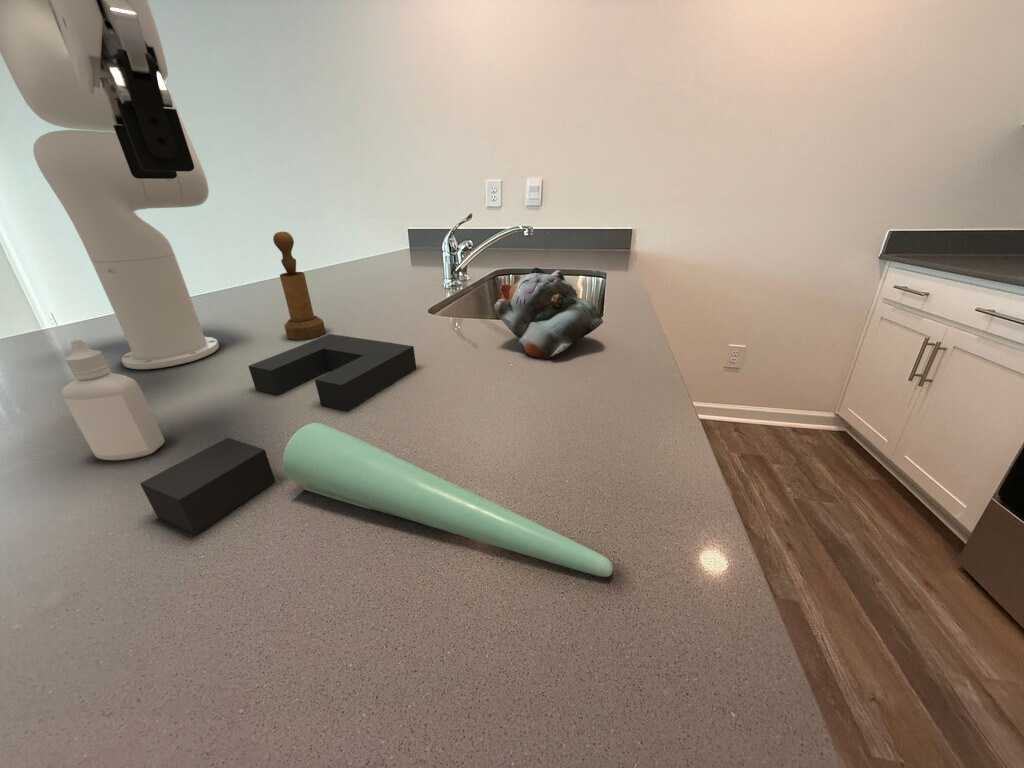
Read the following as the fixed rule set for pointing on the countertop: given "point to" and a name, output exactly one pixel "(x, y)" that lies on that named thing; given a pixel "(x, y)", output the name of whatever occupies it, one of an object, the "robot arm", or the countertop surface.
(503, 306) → the lucky cat figurine
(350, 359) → the dark grey u-shaped block
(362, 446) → the long green cone
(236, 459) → the dark grey block
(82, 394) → the eye dropper bottle
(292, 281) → the mortar and pestle
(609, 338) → the countertop surface
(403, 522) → the countertop surface
